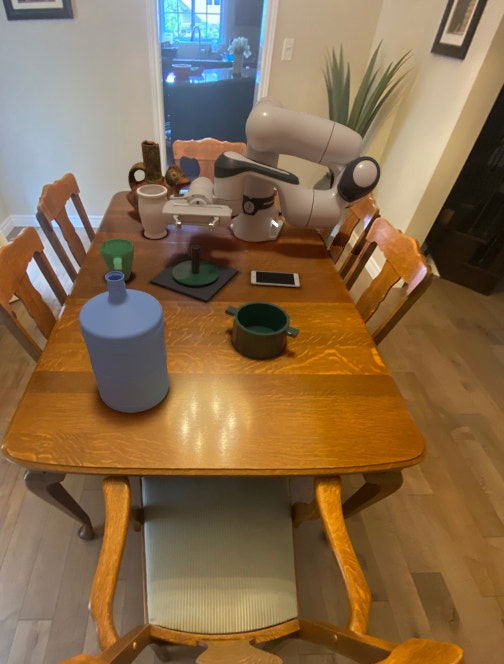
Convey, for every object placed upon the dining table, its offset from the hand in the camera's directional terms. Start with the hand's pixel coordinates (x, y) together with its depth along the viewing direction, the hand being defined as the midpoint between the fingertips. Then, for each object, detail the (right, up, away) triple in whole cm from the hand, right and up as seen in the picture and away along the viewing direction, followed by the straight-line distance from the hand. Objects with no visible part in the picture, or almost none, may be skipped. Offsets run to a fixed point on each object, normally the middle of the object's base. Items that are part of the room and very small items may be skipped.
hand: (194, 227), depth 102 cm
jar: (-15, +12, +32) cm, 38 cm away
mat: (0, -10, +13) cm, 16 cm away
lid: (0, -9, +12) cm, 15 cm away
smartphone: (+25, -11, +13) cm, 30 cm away
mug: (-23, -12, +10) cm, 28 cm away
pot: (+17, -33, -7) cm, 38 cm away
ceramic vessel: (-15, +23, +42) cm, 50 cm away
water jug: (-13, -46, -19) cm, 52 cm away
